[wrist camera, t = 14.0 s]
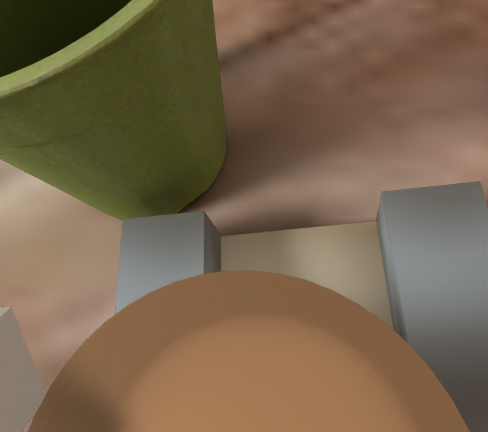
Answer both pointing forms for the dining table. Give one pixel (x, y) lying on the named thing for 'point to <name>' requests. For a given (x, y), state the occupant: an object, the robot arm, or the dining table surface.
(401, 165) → the dining table surface
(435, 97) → the dining table surface
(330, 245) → the notch board
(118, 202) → the plant pot
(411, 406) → the copper pin
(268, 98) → the dining table surface
